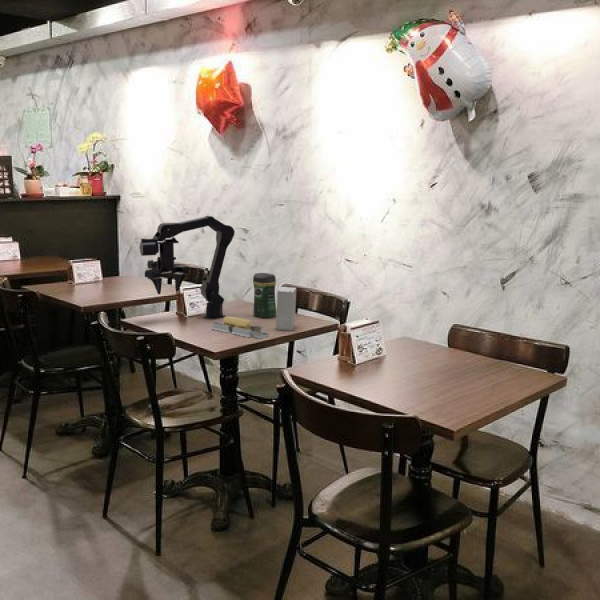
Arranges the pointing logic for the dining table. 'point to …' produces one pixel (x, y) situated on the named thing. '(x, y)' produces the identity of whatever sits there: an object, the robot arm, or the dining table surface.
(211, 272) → the robot arm
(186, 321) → the dining table surface
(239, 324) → the master link bar
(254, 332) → the chain ends
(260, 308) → the coffee jar
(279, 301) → the skincare box
